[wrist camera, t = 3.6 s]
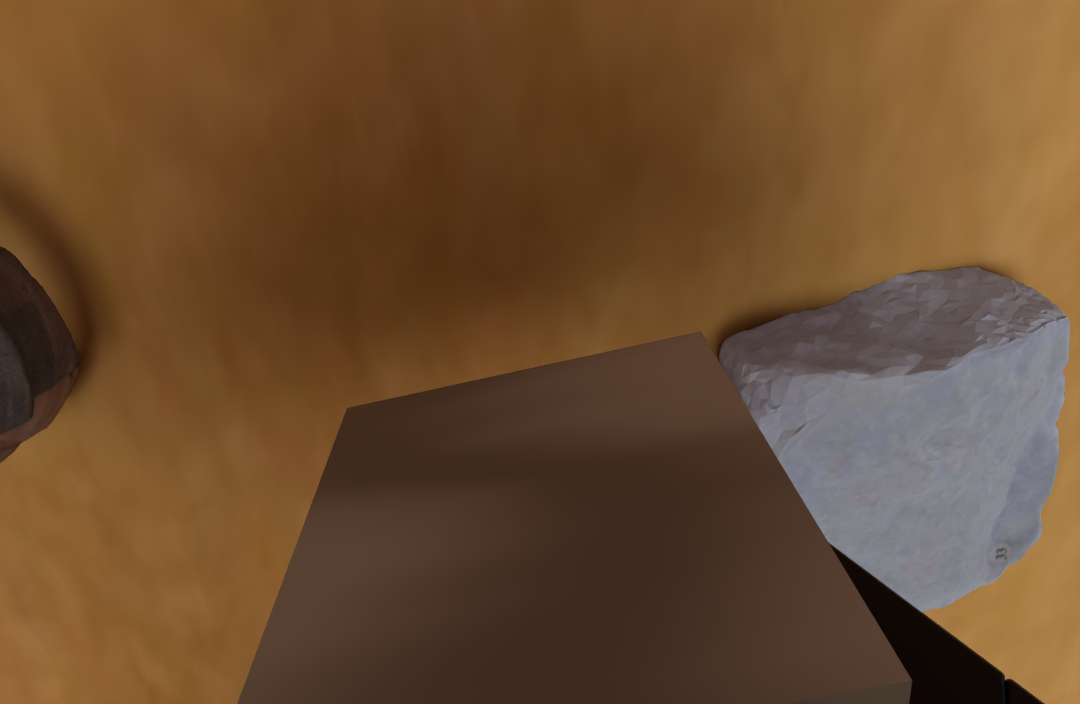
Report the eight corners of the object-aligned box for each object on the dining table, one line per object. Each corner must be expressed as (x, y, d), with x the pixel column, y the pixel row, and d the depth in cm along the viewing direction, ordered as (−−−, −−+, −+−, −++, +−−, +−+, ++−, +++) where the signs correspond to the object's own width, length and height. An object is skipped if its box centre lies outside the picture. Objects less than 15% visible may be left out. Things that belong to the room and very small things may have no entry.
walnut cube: (448, 631, 11) (417, 1031, 7) (347, 408, 9) (198, 809, 4) (725, 578, 11) (875, 960, 7) (700, 331, 8) (912, 680, 4)
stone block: (969, 217, 20) (682, 335, 19) (1130, 269, 16) (774, 422, 15) (949, 481, 26) (731, 579, 25) (1061, 568, 22) (806, 688, 21)
